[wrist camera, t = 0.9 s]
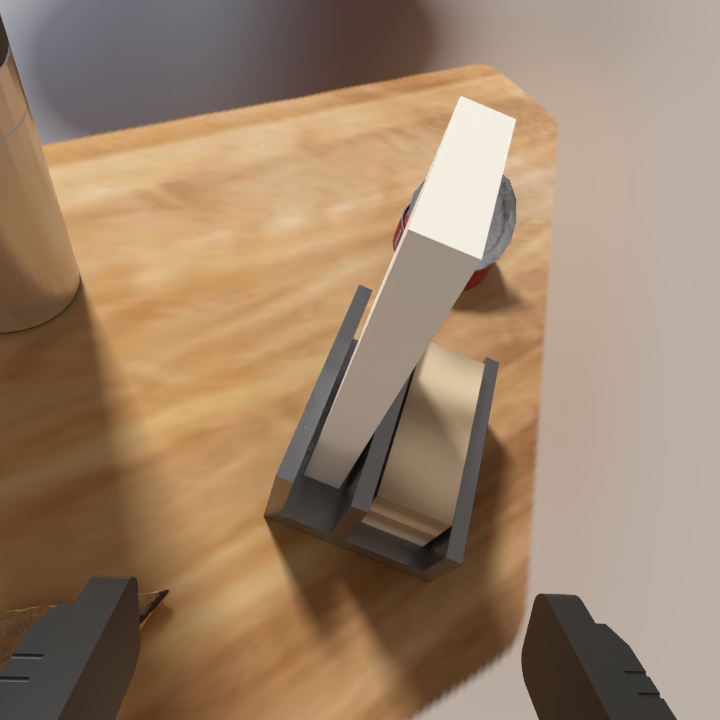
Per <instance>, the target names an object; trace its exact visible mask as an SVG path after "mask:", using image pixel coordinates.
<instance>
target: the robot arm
mask: <svg viewBox="0 0 720 720" xmlns="http://www.w3.org/2000/svg"><path fill="white" fill-rule="evenodd" d="M79 283H80V278H79V270H78V267H77V263H76V260H75V257H74V253H73V250H72V247H71V243H70V240H69V237H68V233H67V229H66V226H65V223H64V219H63V216H62V213H61V210H60V206H59V203H58V200H57V196H56V193H55V190H54V187H53V183H52V180H51V177H50V173H49V170H48V167H47V164H46V160H45V157H44V154H43V150H42V147H41V144H40V141H39V137H38V134H37V131H36V128H35V124H34V121H33V118H32V114H31V112H30V108H29V105H28V102H27V98H26V96H25V93H24V89H23V86H22V83H21V80H20V76H19V73H18V70H17V66H16V63H15V60H14V57H13V53H12V50H11V47H10V44H9V41H8V37H7V34H6V31H5V28H4V25H3V22H2V18H1V15H0V332H2V333H6V332H13V331H20V330H24V329H28V328H31V327H34V326H38V325H40V324H42V323H44V322H46V321H48V320H50V319H52V318H53V317H55V316H56V315H58V314H59V313H61V312H62V311H63V310H64V309H65V308H66V307H67V306H68V305H69V304H70V303H71V301H72V300H73V298H74V296H75V295H76V293H77V290H78V287H79ZM139 648H140V621H139V602H138V584H137V580H136V578H135V577H119V576H93V577H92V578H91V579H90V580H89V582H88V583H87V585H86V586H85V588H84V590H83V591H82V593H81V595H80V596H79V598H78V600H77V601H76V603H75V604H74V605H65V604H57V605H56V606H55V607H54V608H53V609H51V610H50V611H49V612H48V613H46V614H45V615H44V616H43V617H42V618H40V619H39V620H38V621H37V622H35V623H34V624H33V625H32V626H31V627H30V628H29V630H28V631H27V633H26V634H25V635H24V637H23V638H22V640H21V641H20V643H19V644H18V646H17V647H16V649H15V650H14V652H13V653H12V657H11V659H8V660H7V662H6V663H5V665H4V666H3V668H2V669H1V671H0V720H115V718H116V715H117V713H118V711H119V708H120V706H121V703H122V701H123V698H124V696H125V693H126V691H127V688H128V686H129V683H130V681H131V678H132V676H133V673H134V670H135V667H136V663H137V659H138V654H139ZM521 660H522V672H523V677H524V681H525V684H526V687H527V690H528V692H529V695H530V698H531V700H532V703H533V705H534V708H535V710H536V713H537V716H538V718H539V720H677V719H676V718H675V716H674V715H673V713H672V711H671V710H670V708H669V707H668V705H667V704H666V702H665V700H664V699H661V698H660V693H659V691H658V690H657V688H656V687H655V685H654V684H653V682H652V681H651V679H650V677H647V676H646V671H645V670H644V668H643V667H642V665H641V663H640V662H639V660H638V659H637V657H636V656H635V654H634V652H633V651H632V649H631V648H630V646H629V645H628V644H627V643H625V642H624V641H623V640H622V639H621V638H620V637H619V636H618V635H617V634H616V633H615V632H613V630H612V629H610V628H609V627H608V626H607V625H606V624H596V623H595V622H594V620H593V618H592V617H591V615H590V614H589V612H588V610H587V608H586V607H585V605H584V603H583V602H582V600H581V599H580V598H579V597H578V596H576V595H564V594H538V595H537V596H536V598H535V601H534V604H533V608H532V612H531V616H530V620H529V624H528V628H527V632H526V636H525V641H524V644H523V648H522V658H521Z"/></svg>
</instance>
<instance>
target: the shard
mask: <svg viewBox="0 0 720 720" xmlns="http://www.w3.org/2000/svg"><path fill="white" fill-rule="evenodd" d="M168 593H169V590H164V591H155V592H152V593H142V594H138V602H139V621H140V631H141V629H142V628H143V627H144V625H145V623H146V621H147V619H148V618H149V616H150V615H151V614H152V613H153V612H154V611H155V610H156V609H157V608H158V607H159V605H160V604H161V603H162V602H163V600H164V599H165V598H166V596H167V595H168ZM75 603H76V602H69V603H63V604H65V605H74V604H75ZM55 606H56V605H41V606H35V607H29V608H26V609H21V610H10V611H7V612H1V613H0V671H1V669H2V668H3V666H4V665H5V663H6V662H7V660H8V659H11V657H12V653H13V652H14V650H15V649H16V647H17V646H18V644H19V643H20V641H21V640H22V638H23V637H24V635H25V634H26V633H27V631H28V630H29V628H30V627H31V626H32V625H33V624H34V623H35V622H37V621H38V620H39V619H40V618H42V617H43V616H44V615H45V614H46V613H48V612H49V611H50V610H51V609H53V608H54V607H55Z"/></svg>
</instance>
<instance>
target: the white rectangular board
mask: <svg viewBox="0 0 720 720" xmlns="http://www.w3.org/2000/svg"><path fill="white" fill-rule="evenodd" d="M515 121H516V119H514V118H512V117H509V116H507V115H505V114H502V113H500V112H497V111H495V110H493V109H490V108H488V107H486V106H483V105H481V104H479V103H476V102H474V101H471V100H469V99H467V98H464V97H462V96H460V98H459V101H458V103H457V105H456V108H455V110H454V113H453V115H452V117H451V120H450V122H449V125H448V127H447V129H446V132H445V134H444V137H443V139H442V141H441V144H440V146H439V148H438V151H437V153H436V156H435V158H434V160H433V163H432V165H431V168H430V170H429V172H428V175H427V177H426V180H425V182H424V184H423V187H422V189H421V192H420V194H419V196H418V199H417V201H416V203H415V206H414V208H413V211H412V213H411V215H410V218H409V220H408V223H407V225H406V227H405V230H404V232H403V235H402V237H401V239H400V242H399V244H398V247H397V249H396V251H395V254H394V256H393V259H392V261H391V263H390V266H389V268H388V270H387V273H386V275H385V278H384V280H383V282H382V285H381V287H380V290H379V292H378V294H377V297H376V299H375V302H374V304H373V306H372V309H371V311H370V314H369V316H368V318H367V321H366V323H365V326H364V328H363V330H362V333H361V335H360V337H359V340H358V342H357V345H356V347H355V349H354V352H353V354H352V357H351V359H350V361H349V364H348V366H347V369H346V371H345V373H344V376H343V378H342V381H341V383H340V386H339V388H338V391H337V393H336V396H335V398H334V401H333V403H332V406H331V408H330V411H329V413H328V416H327V418H326V421H325V423H324V426H323V428H322V431H321V433H320V436H319V438H318V441H317V443H316V446H315V448H314V451H313V453H312V456H311V458H310V460H309V463H308V465H307V468H306V470H305V473H304V475H305V476H308V477H310V478H313V479H315V480H318V481H320V482H323V483H325V484H328V485H330V486H333V487H335V488H338V489H339V488H340V486H341V485H342V483H343V482H344V480H345V478H346V477H347V475H348V474H349V472H350V470H351V469H352V467H353V466H354V464H355V462H356V461H357V459H358V458H359V456H360V454H361V453H362V451H363V449H364V448H365V446H366V445H367V443H368V441H369V440H370V438H371V437H372V435H373V433H374V432H375V430H376V429H377V427H378V425H379V424H380V422H381V421H382V419H383V417H384V416H385V414H386V413H387V411H388V409H389V408H390V406H391V405H392V403H393V401H394V400H395V398H396V397H397V395H398V393H399V392H400V390H401V389H402V387H403V385H404V384H405V382H406V380H407V379H408V377H409V376H410V374H411V372H412V371H413V369H414V368H415V366H416V364H417V363H418V361H419V360H420V358H421V356H422V355H423V353H424V352H425V350H426V348H427V347H428V345H429V344H430V342H431V340H432V339H433V337H434V336H435V334H436V332H437V331H438V329H439V328H440V326H441V324H442V323H443V321H444V320H445V318H446V316H447V315H448V313H449V311H450V310H451V308H452V307H453V305H454V303H455V302H456V300H457V299H458V297H459V295H460V294H461V292H462V291H463V289H464V287H465V286H466V284H467V283H468V281H469V279H470V278H471V276H472V275H473V273H474V271H475V270H476V268H477V267H478V265H479V263H480V262H481V260H482V257H483V252H484V248H485V244H486V240H487V236H488V232H489V228H490V224H491V220H492V216H493V212H494V207H495V203H496V199H497V195H498V191H499V187H500V183H501V179H502V175H503V171H504V166H505V162H506V158H507V154H508V150H509V146H510V142H511V138H512V134H513V130H514V126H515Z"/></svg>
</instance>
